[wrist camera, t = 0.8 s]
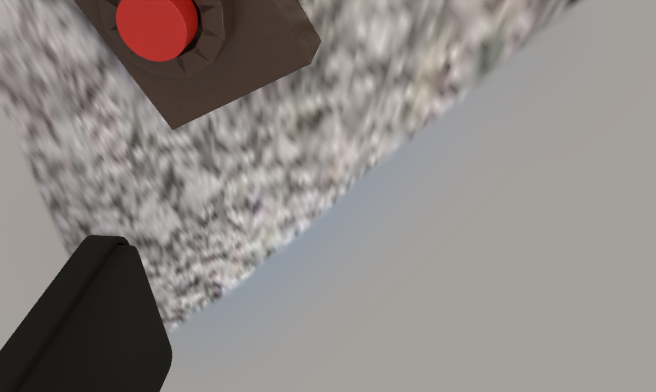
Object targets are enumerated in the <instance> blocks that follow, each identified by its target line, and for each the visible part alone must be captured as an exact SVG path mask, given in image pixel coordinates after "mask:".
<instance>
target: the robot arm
mask: <svg viewBox="0 0 656 392" xmlns="http://www.w3.org/2000/svg"><path fill="white" fill-rule="evenodd" d="M171 361H172V349H171V345H170V342H169V339H168V337H167V334H166V331H165V328H164V325H163V322H162V319H161V316H160V313H159V310H158V308H157V305H156V302H155V299H154V296H153V293H152V290H151V287H150V284H149V282H148V279H147V276H146V273H145V270H144V267H143V264H142V261H141V258H140V255H139V253H138V250H137V248H136V247H135V246H131V245H129V243H128V241H127V240H126V239H125V238H124V237H120V236H100V235H90V236H88V237H86V238H85V239H84V240H83V241H82V243H81V244H80V245H79V247H78V248H77V249H76V251H75V252H74V253H73V255H72V256H71V257H70V259H69V260H68V261H67V263H66V264H65V265H64V267H63V268H62V269H61V271H60V272H59V273H58V275H57V276H56V277H55V279H54V280H53V281H52V283H51V284H50V285H49V287H48V288H47V289H46V291H45V292H44V293H43V295H42V296H41V297H40V298H39V300H38V302H37V303H36V304H35V305H34V306H33V308H32V309H31V311H30V312H29V313H28V314H27V316H26V317H25V318H24V320H23V321H22V322H21V324H20V325H19V327H18V328H17V329H16V330H15V332H14V333H13V335H12V336H11V337H10V338H9V340H8V341H7V342H6V344H5V345H4V347H3V348H2V349H1V350H0V392H160V389H161V387H162V385H163V383H164V381H165V378H166V376H167V374H168V372H169V369H170V366H171Z"/></svg>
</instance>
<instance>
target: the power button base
mask: <svg viewBox="0 0 656 392" xmlns="http://www.w3.org/2000/svg"><path fill="white" fill-rule="evenodd" d="M74 1H75V2H76V4H77V5H78V6H79V8H80V9H81V10H82V12H83V13H84V14H85V15H86V17H87V18H88V19H89V21H90V22H91V23H92V25H93V26H94V27H95V29H96V30H97V31H98V33H99V34H100V35H101V37H102V38H103V39H104V40H105V42H106V43H107V44H108V46H109V47H110V48H111V50H112V51H113V52H114V54H115V55H116V56H117V58H118V59H119V60H120V61H121V63H122V64H123V65H124V67H125V68H126V69H127V71H128V72H129V73H130V75H131V76H132V77H133V79H134V80H135V81H136V83H137V84H138V85H139V86H140V88H141V89H142V90H143V92H144V93H145V94H146V96H147V97H148V98H149V100H150V101H151V102H152V104H153V105H154V106H155V107H156V109H157V110H158V111H159V113H160V114H161V115H162V117H163V118H164V119H165V121H166V122H167V123H168V125H169V126H170V127H171V129H172V130H174V129H176V128H178V127H180V126H182V125H184V124H186V123H188V122H190V121H192V120H194V119H196V118H199V117H201V116H203V115H205V114H207V113H209V112H211V111H213V110H215V109H217V108H219V107H221V106H223V105H226V104H228V103H230V102H232V101H234V100H236V99H238V98H240V97H242V96H244V95H246V94H248V93H250V92H253V91H255V90H257V89H259V88H261V87H263V86H265V85H267V84H269V83H271V82H273V81H275V80H277V79H280V78H282V77H284V76H286V75H288V74H290V73H292V72H294V71H296V70H298V69H300V68H302V67H304V66H306V65H309V64H311V62H312V60H313V58H314V56H315V53H316V51H317V49H318V47H319V44H320V42H321V40H320V38H319V36H318V35H317V33H316V31H315V29H314V28H313V26H312V24H311V23H310V21H309V19H308V17H307V16H306V14H305V12H304V10H303V9H302V7H301V5H300V3H299V2H298V0H192V2H193V4H194V6H195V8H196V11H197V16H198V29H197V32H196V35H195V37H194V38H193V40H192V41H191V42H190V43H189V44H188V45H187V46H186V48H185V49H184V50H183V51H182V52H181V53H180V54H179V55H178V56H177V57H175V58H173V59H171V60H168V61H163V62H156V61H151V60H147V59H145V58H143V57H141V56H139V55H137V54H136V53H135V52H133V51H132V50H131V49H130V48H129V47H128V46H127V45H126V43H125V42H124V41H123V39H122V37H121V36H120V33H119V31H118V28H117V23H116V11H117V8H118V5H119V3H120V1H121V0H74Z"/></svg>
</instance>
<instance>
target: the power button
mask: <svg viewBox="0 0 656 392" xmlns="http://www.w3.org/2000/svg"><path fill="white" fill-rule="evenodd" d="M116 23H117V28H118V31H119V33H120V36H121V37H122V39H123V41H124V42H125V43H126V45H127V46H128V47H129V48H130V49H131V50H132V51H133V52H135V53H136V54H137V55H139V56H141V57H143V58H145V59H147V60H151V61H156V62H163V61H168V60H171V59H173V58H175V57H177V56H178V55H179V54H180V53H181V52H182V51H183V50H184V49H185V48H186V46H187V45H188V44H189V43H190V42H191V41H192V40H193V38H194V37H195V35H196V32H197V29H198V16H197V11H196V8H195V6H194V4H193V2H192V0H121V1H120V3H119V5H118V8H117V11H116Z"/></svg>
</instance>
